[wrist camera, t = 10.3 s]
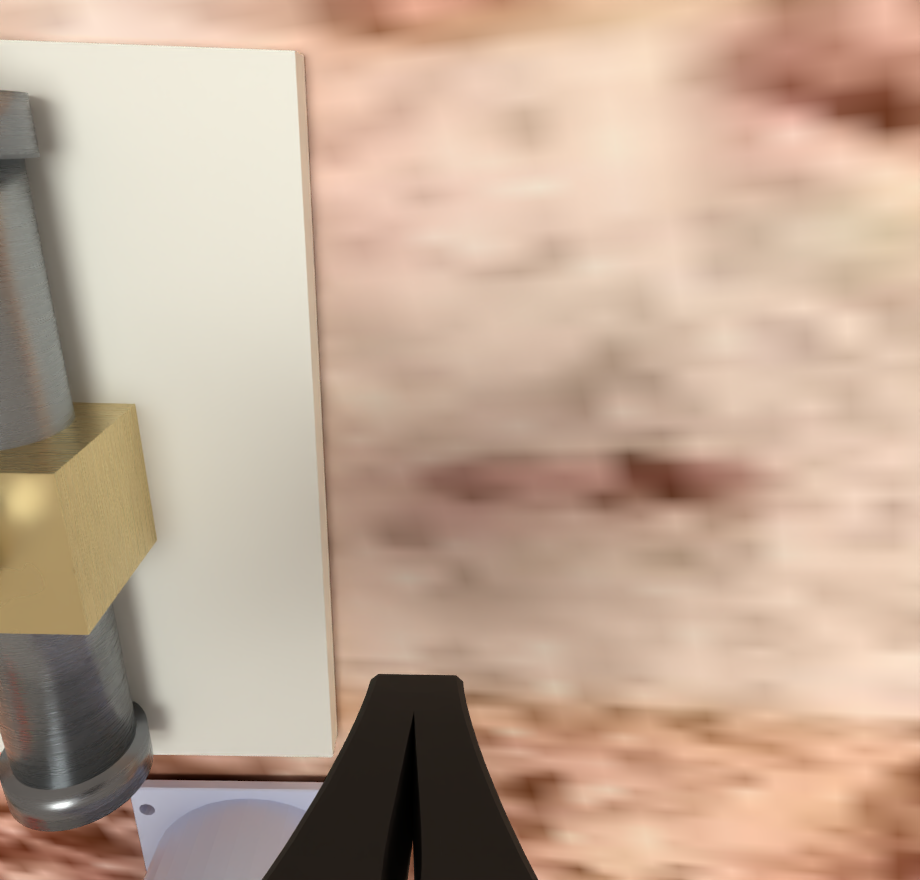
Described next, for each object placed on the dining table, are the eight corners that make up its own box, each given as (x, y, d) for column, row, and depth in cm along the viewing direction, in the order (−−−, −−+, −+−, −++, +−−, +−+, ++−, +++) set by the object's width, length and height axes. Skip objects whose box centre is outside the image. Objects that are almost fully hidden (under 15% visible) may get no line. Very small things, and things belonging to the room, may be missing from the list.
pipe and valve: (191, 724, 23) (135, 850, 19) (32, 721, 22) (-58, 847, 18) (92, 97, 15) (-33, 84, 11) (-143, 88, 15) (-350, 73, 11)
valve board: (337, 732, 24) (332, 757, 23) (-89, 726, 23) (-111, 750, 22) (303, 55, 16) (294, 50, 15) (-343, 31, 15) (-393, 25, 14)
